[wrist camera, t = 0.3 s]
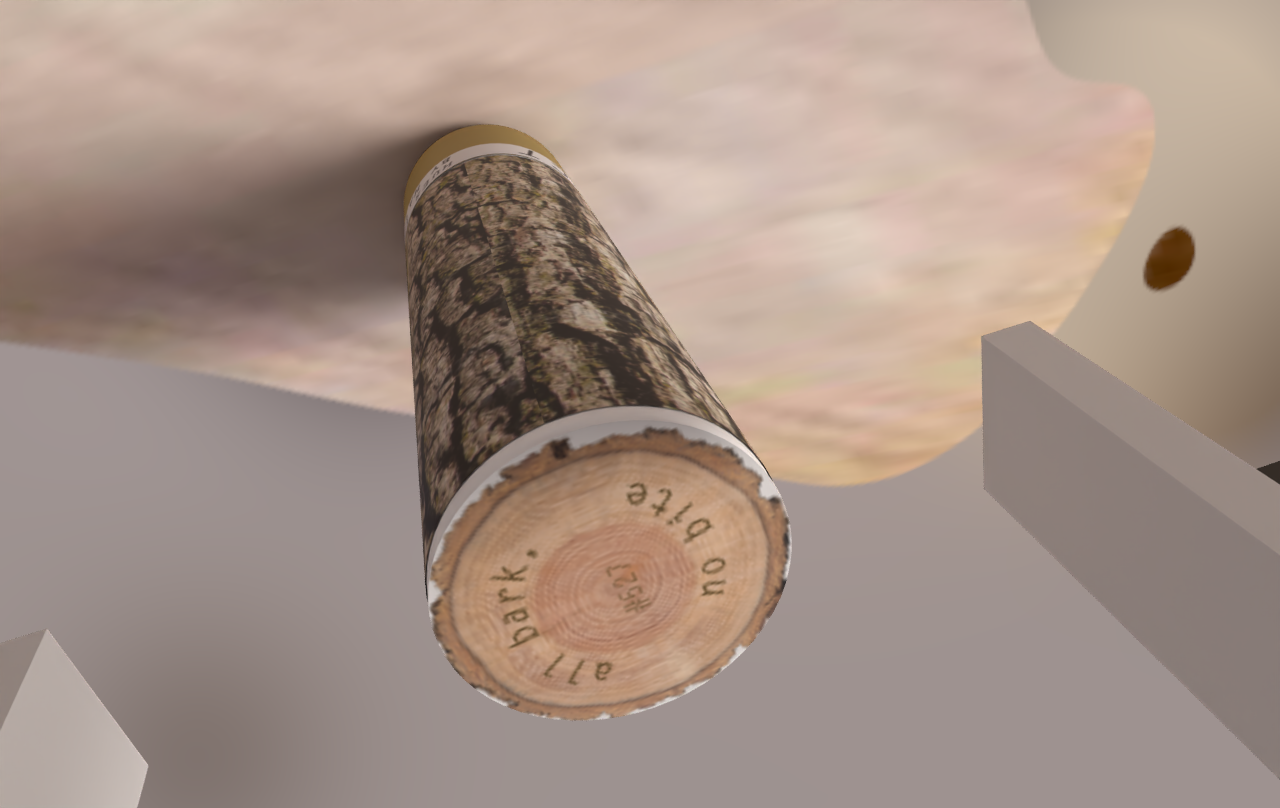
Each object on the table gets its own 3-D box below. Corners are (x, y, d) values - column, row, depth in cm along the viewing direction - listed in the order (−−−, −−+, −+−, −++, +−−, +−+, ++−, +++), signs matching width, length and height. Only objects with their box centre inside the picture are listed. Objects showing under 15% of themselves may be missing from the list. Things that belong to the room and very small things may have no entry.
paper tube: (446, 306, 40) (517, 769, 19) (372, 159, 36) (355, 520, 15) (591, 245, 40) (827, 632, 19) (532, 93, 37) (738, 356, 15)
